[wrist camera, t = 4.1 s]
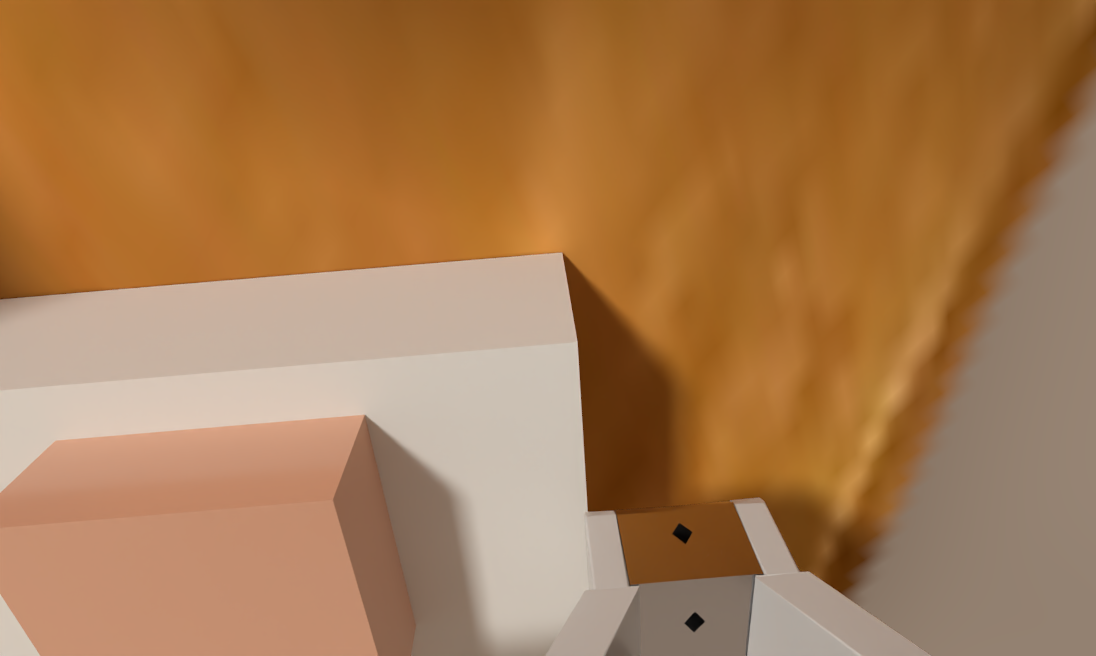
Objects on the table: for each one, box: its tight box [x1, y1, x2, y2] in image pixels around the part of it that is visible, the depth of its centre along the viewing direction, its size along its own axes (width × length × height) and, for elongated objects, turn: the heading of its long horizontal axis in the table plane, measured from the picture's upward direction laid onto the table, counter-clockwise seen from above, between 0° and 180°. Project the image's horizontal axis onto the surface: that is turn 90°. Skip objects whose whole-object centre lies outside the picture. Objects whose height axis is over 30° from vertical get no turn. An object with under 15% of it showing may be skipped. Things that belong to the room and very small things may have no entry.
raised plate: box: [0, 253, 589, 656], centre depth 15 cm, size 14×14×4 cm
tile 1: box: [0, 415, 416, 656], centre depth 11 cm, size 5×5×2 cm
